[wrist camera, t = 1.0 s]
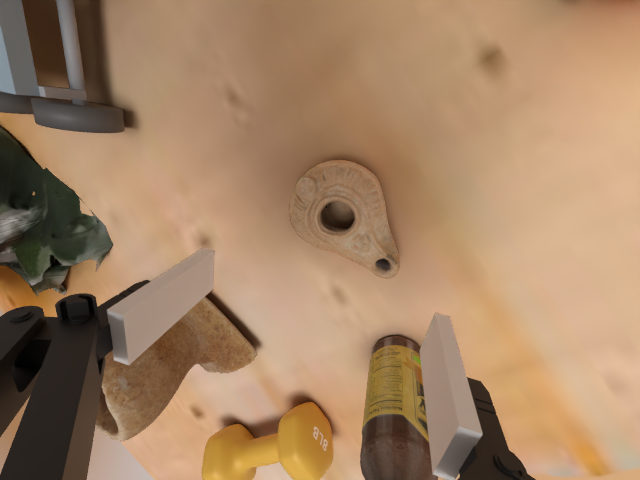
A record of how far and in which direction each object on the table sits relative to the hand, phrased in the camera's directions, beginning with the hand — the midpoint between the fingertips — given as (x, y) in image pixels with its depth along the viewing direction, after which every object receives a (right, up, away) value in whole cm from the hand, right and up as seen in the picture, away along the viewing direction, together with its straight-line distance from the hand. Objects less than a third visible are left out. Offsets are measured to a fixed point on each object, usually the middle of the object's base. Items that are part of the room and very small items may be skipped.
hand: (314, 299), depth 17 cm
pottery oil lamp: (+4, +6, +14) cm, 15 cm away
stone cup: (-16, -8, +24) cm, 30 cm away
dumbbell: (-6, -25, +28) cm, 38 cm away
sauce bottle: (+10, -10, +18) cm, 23 cm away
